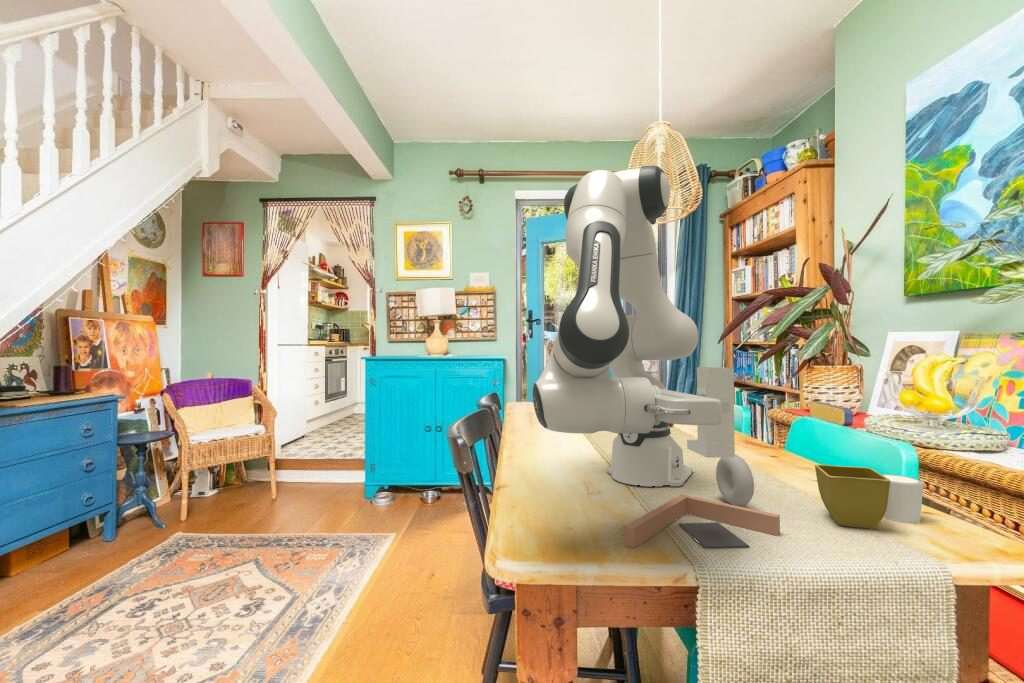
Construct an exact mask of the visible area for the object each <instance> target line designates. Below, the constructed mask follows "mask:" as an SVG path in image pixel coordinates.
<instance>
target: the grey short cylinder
mask: <svg viewBox="0 0 1024 683" xmlns="http://www.w3.org/2000/svg"><path fill="white" fill-rule="evenodd" d="M880 474H881V473H880ZM881 475H883V476H885V477H886V478H888V479H889V480H890V488H889V496H888V504H887V509H886V512H885V515H884V517H883V518H884V519H887V520H890V521H893V522H897V523H904V524H919V523H920V522H921V513H922V507H923V506H922V505H923V494H924V481H922V480H921V479H918V478H914V477H911V476H910V477H909V476H904V475H898V474H888V473H887V474H886V473H882V474H881Z"/></svg>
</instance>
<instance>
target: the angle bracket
mask: <svg viewBox="0 0 1024 683" xmlns="http://www.w3.org/2000/svg"><path fill="white" fill-rule="evenodd" d="M734 371H735V368H734V367H725V366H724V367H715V366H714V367H713V366H710V367H703V366H701V367H699V366H698V367H696V388H697V389H696V395H698V396H703V397H709V398H714V399H719V400H720V401H721V400H722V401H728V402H730V412H729V413H722V421H721V423H720V424H718V425H697V439H687V440H686V448H687V450H689V451H692V452H694V453H696V454H698V455H700V456H703V457H704V458H709V459H710V458H716V459H717V458H721V457H735V454H736V453H735V452H736V450H735V448H736V446H735V444H736V443H735V386H734V385H735V383H734V382H735V381H734V380H735V377H734V376H735V375H734Z"/></svg>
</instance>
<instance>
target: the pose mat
mask: <svg viewBox="0 0 1024 683" xmlns="http://www.w3.org/2000/svg"><path fill="white" fill-rule="evenodd" d="M679 525H680V526H681V527H682V528H681V527H680V526H679ZM678 526H679V527H680V528H681V529H682V530H684V531H685V530H686V531H687V532H688V533H689V534H690V535H691V536H692V537H693V538H695V539H696V540H697V541H698V542H699V543H700V544H701V545H702V546H703V547H704V548H711V549H735V548H737V549H739V548H740V549H743V548H750V545H749V544H748V543H746V542H745V541H743V540H742V539H741V538H740V537H738V536H737V535H736V534H734V533H733V532H732V531H730V530H729V529H728V528H726V527H725V526H723V525H722V524H721V522H718V521H715V522H714V521H713V522H680V523H678ZM686 531H685V532H686ZM687 532H686V533H687ZM688 533H687V534H688ZM689 534H688V535H689ZM690 535H689V536H690ZM691 536H690V537H691ZM692 537H691V538H692ZM693 538H692V539H693ZM695 539H694V540H695ZM696 540H695V541H696ZM697 541H696V542H697ZM698 542H697V543H698ZM699 543H698V544H699ZM700 544H699V545H700ZM701 545H700V546H701ZM702 546H701V547H702ZM703 547H702V548H703ZM704 548H703V549H704Z"/></svg>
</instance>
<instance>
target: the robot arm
mask: <svg viewBox="0 0 1024 683" xmlns="http://www.w3.org/2000/svg"><path fill="white" fill-rule="evenodd" d="M670 197H671V186H670V182H669V179H668V178H667V175H666V173H665V171H664V170H663V169H662V168H661V167H660V166H658V165H642V166H641V167H639V168H629V169H623V170H618V171H610V170H608V169H607V170H606V169H596V170H593V171H589V172H588V173H586V174H585V175H583V177H582V178H580V180H579V181H578V183H576V184H574V185H573V186H571V187H570V188H568V191H567V192H566V194H565V195H564V199H563V209H564V215H565V219H566V226H565V227H566V229H565V249H566V254H567V256H568V257H569V259H570V260H571V261H572V262H574V263H575V264H577V265H578V272H577V273H578V275H577V284H576V291H575V295H574V297H573V298H572V300H571V301H570V303H569V304H568V305H567V306H566V308H565V310H564V311H563V313H562V316H561V318H560V320H559V326H558V331H557V334H556V337H555V338H554V341H553V344H552V347H551V348H552V349H551V351H550V354H549V357H548V359H547V362H546V364H545V366H544V369H543V371H542V372H541V374H540V376H539V378H538V379H537V380H536V381H535V382H534V383H533V385H532V386H533V387H532V401H533V407H534V412H535V415H536V418H537V420H538V423H539V424H540V425H541V426H542V427H543V428H544V429H546V430H549V431H552V432H555V433H562V434H563V433H565V434H566V433H567V434H595V433H598V432H610V433H613V434H617V436H616V437H615V438H614V439H613V441H612V448H611V449H612V450H611V462H610V464H611V465H610V466H608V467H607V470H606V472H607V474H609V475H611V478H612V479H613V480H614V481H616V482H619V483H622V484H626V485H632V486H637V485H640V486H639V487H652V486H655V487H664V486H663V485H670V486H669V487H680V486H679V485H682V484H683V483H684V482H685V481H686V480H687V479H688V480H689V478H690V477H691V476H692V475H693V474H692V472H693V471H694V468H693V467H691V466H688V465H684V453H683V448H682V447H681V446H680V444H678V443H677V441H676V440H675V439H674V438H673V437H672V436H671V434H672V431H671V428H674V426H675V425H681V426H682V425H683V426H684V425H687V426H689V425H690V426H698V425H718V424H720V423H721V421H722V413H729V412H730V402H728V401H722V400H721V401H720V400H719V399H714V398H709V397H703V396H698V395H697V394H692V393H685V392H682V391H681V392H680V391H675V390H670V389H666V388H665V385H664V384H663V383H662V382H661V380H659V379H658V378H657V377H654V376H653V375H651V374H649V373H648V372H647V371H646V369H645V367H644V364H643V361H673V360H679V359H683V358H689V357H690V356H691V355H692V354H693V353H694V351H695V349H696V348H697V346H698V342H699V330H698V326H697V325H696V323H695V321H694V320H693V319H692V318H691V317H690V316H689V315H687V314H686V313H684V312H682V311H681V310H680V309H678V308H677V307H676V306H675V305H674V304H673V302H672V301H671V300H670V298H669V297H668V295H667V293H666V292H665V290H664V287H663V284H662V280H661V275H660V268H659V261H658V254H657V245H656V239H655V233H654V230H653V226H652V225H655V224H656V222H657V219H659V218H661V217H662V216H663V215H664V214H665V212H666V210H667V209H668V207H669V202H670ZM621 300H623V301H625V302H627V303H629V304H630V305H631V306H632V307H633V309H634V310H635V312H636V314H629V315H628V314H626V313H625V311H624V307H623V305H622V302H621ZM610 372H611V373H610ZM611 374H612V375H611ZM693 473H694V472H693ZM691 474H692V475H691ZM690 475H691V476H690ZM689 476H690V477H689ZM688 477H689V478H688ZM688 480H687V481H688ZM687 481H686V482H687ZM686 482H685V483H686ZM685 483H684V484H685ZM684 484H683V485H684ZM683 485H682V486H683Z"/></svg>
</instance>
